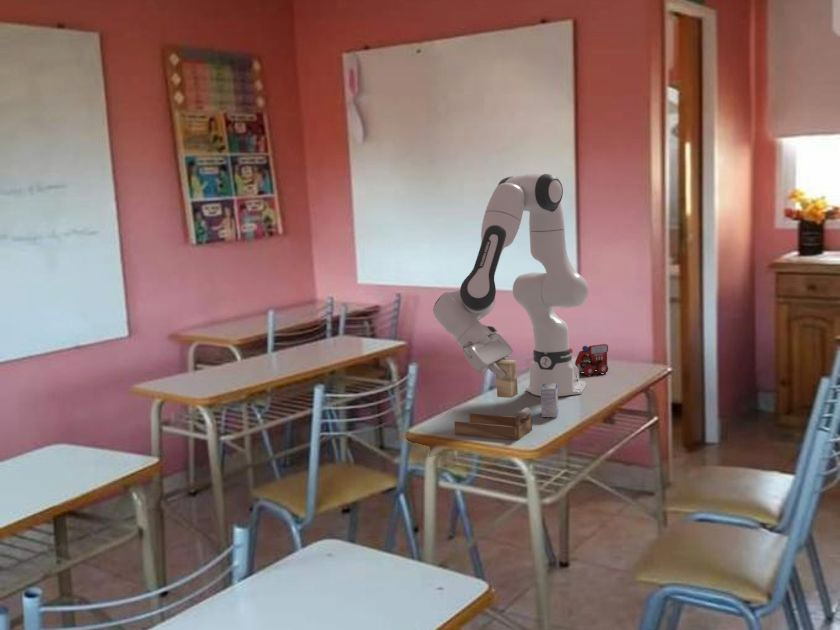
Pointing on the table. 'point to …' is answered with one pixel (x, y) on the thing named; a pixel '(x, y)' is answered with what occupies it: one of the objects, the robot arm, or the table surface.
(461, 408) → the table surface
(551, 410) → the medicine box
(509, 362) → the tan wooden block
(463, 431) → the wooden drawer with handle
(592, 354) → the toy fire truck
